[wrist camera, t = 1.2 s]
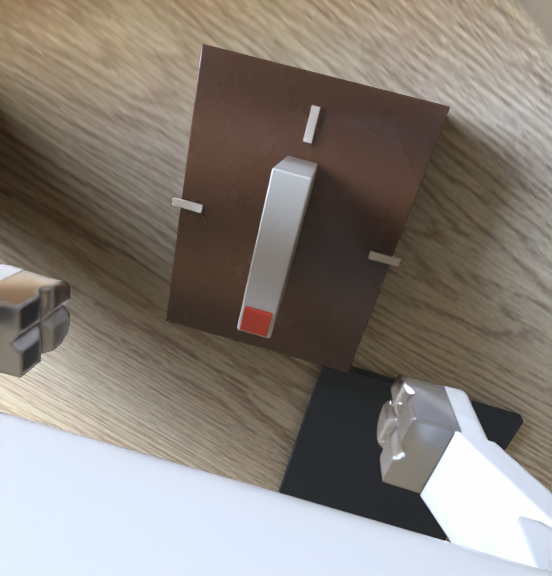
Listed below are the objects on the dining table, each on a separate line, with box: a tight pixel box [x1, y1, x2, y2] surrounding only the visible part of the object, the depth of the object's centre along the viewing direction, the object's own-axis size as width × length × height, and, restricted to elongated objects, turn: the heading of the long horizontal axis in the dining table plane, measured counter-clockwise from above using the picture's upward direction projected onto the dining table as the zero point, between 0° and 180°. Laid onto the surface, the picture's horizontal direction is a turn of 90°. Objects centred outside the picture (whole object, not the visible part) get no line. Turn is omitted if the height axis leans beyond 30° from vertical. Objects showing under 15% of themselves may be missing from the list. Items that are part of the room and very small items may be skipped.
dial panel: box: [166, 44, 450, 372], centre depth 20 cm, size 13×11×3 cm
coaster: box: [279, 365, 523, 541], centre depth 27 cm, size 12×12×1 cm
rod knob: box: [237, 156, 319, 338], centre depth 17 cm, size 6×1×4 cm, turn 167°
